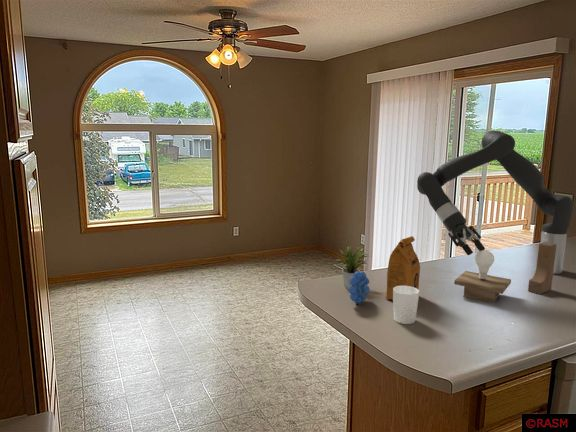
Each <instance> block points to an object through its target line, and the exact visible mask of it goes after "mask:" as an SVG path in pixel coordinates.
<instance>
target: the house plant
mask: <svg viewBox="0 0 576 432" xmlns="http://www.w3.org/2000/svg"><path fill="white" fill-rule="evenodd" d="M360 247H361V245H359V246H358V247H357V248H356V250H355V251H354V253H353V250H352V245H351V244H350V245H347V247H346V248H347V249H346V253H344V251H343V250H341V249H338V250H339V251H340V254H341V255H342V257H343V259H344V260H345V261H344V260H342V259H340V258H338V259H336V261H338V262H340V263H342V270H341V272H342V280H343V284H344V287H345V289H348V287H349V286H351V285H352V284H351V283H350V278H351V277H354V273H355V272H356V271H359V272H361V269H359V268H358V267H362V268H363V269H364V264H365V265H366V264H367V265H368V263H367V262H366V260H363V258H367V257H370V255H369V254H368V253H370V251H367V252H363V250H364V249H365V248H364V247H363V248H360ZM359 249H360V250H359ZM362 252H363V253H362ZM361 259H362V260H361Z"/></svg>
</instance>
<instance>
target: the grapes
mask: <svg viewBox="0 0 576 432" xmlns="http://www.w3.org/2000/svg"><path fill="white" fill-rule="evenodd" d="M360 271H361V270H360ZM350 283H351V284H352V285H351V286H349V287H348V288H347V290H348V293H349V299H350V301H352V302H354V303H355V304H357V305H359V304H361V303H362V302H363V301H366V299H367V297H368V296H367V294H368V293H370V291H371V288H370V286H369V283H370V280H369V278H368V277H367V273H366V272H364V271H361V272H359V271H356V272H355V273H354V277H351V278H350Z"/></svg>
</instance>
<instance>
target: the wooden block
mask: <svg viewBox="0 0 576 432" xmlns="http://www.w3.org/2000/svg"><path fill="white" fill-rule="evenodd" d="M555 254H556V244H553V243H548V242H543V243H541V242H540V243H539V244H538V252H537V257H536V259H537V260H536V265H535V266H536V267H535V268H536V269H535V273H534V274H533V277H532V278H530V279H529V280H528V287H527V291H528V292H529V293H534V294H537V295H541V294H544V293H546V292H548V291H549V292H550V291H551V290H552V286H553V285H552V284H553V278H554V274H553V270H554V262H555Z"/></svg>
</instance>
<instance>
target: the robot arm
mask: <svg viewBox="0 0 576 432" xmlns="http://www.w3.org/2000/svg"><path fill="white" fill-rule="evenodd" d="M481 146H482V148H480V149H479V150H477V151H474V152H471V153H466V154H464V155H460V156H457V157H455V158H452V159H451V160H449V161H447V162H445V163H443V164H441V165H440V166H438V168H436V170H435V172H433V173H431V172H428V171H426V172H422V173H420V174H419V175H418V177H417V182H416V183H417V185H416V188H417V191H418V192H419V193H420V194H421V195H423V196H425V195H426V197H427V198H428V199H427V200H428V203H429V204H430V206H431V208H432V209H433V211H434V212H435V214H436V215H437V216H438V219H440V221H441V223H442V224H443V226H444V227H445V228H446V230H447V231H448V233H447V235H448V236H449V238H450V240H451V241H452V242H453V244H454V245H455V246H456V247H460V248H462V250H463V251H464V252H465V254H466V255H467V256H470V255H472V254H473V253H474V251H473V250H472V248H471V247H470V245H469V244H468V243H467V241H468V242H471V243H472V244H473V245H474V246H475V247H476V249H477V250H478V252H479V251H481V250H486V247H485V246H484V245H483V243H482V242H481V239H482V236H481V235H480V233H479V232H478V231H477V230H476V229H475V228H474V226H473V225H469V226H467V224H466V223H467V219H466V217H464V215H463V213H462V212H461V211H460V210H459V208H458V207H457V206H456V204H454V202H452V200H451V199H450V198H449V196H448V195H447V194H446V192H445V191H444V189H443V188H442V187H443V186H444V185H445V184H447V183H448V182H451V181H453V180H454V179H456V178H458V177H459V176H462V175H464V174H465V173H468V172H469V171H471V170H473V169H476V168H478V167H480V166H483V165H486V164H488V163H491V162H493V161H497V162H498V163H499V164H500V165H501V166H502V167H503V169H504V170H505V171H506V172H507V174H509V176H510V177H511V178H512V179H513V181H514V182H516V184H517V185H518V186H520V188H522V189H523V190H524V191H525V193H526V194H527V195H529V197H531V199H532V200H533V202H534V203H535V204H536V206H537V207H538V208H539V209H540V211H541V212H542V213H543V214H544V215H547V216H551V217H553V218H552V221H551V222H547V223H543V225H541V226H542V227H541V235H540V243H543V242H548V243H553V244H556V254H555V262H554V270H553V275H554V274H557V275H558V274H562V273H563V266H564V260H565V259H564V258H565V251H566V246H567V245H566V243H567V236H568V235H567V234H568V230H569V228H570V226H571V221H572V216H573V211H574V201H573V199H572V198H571V197H570V196H567V195H561V194H554V193H552V192H551V191H549V189H548V188H546V187H545V185H544V179H545V178H544V175H543V173H542V171H540V170H539V168H538V167H537V166H536V165H535V164H534V163H533V162H531V161H530V160H529V159H527V158H526V157H525V156H523V155H522V154H521V153H520V152H517V151H516V150H515V147H516V139H515V138H514V137H513V136H512V135H510V134H509V133H506V132H504V131H501V130H490V131H487V132H486V133H484V135H483V136H482V139H481Z"/></svg>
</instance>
